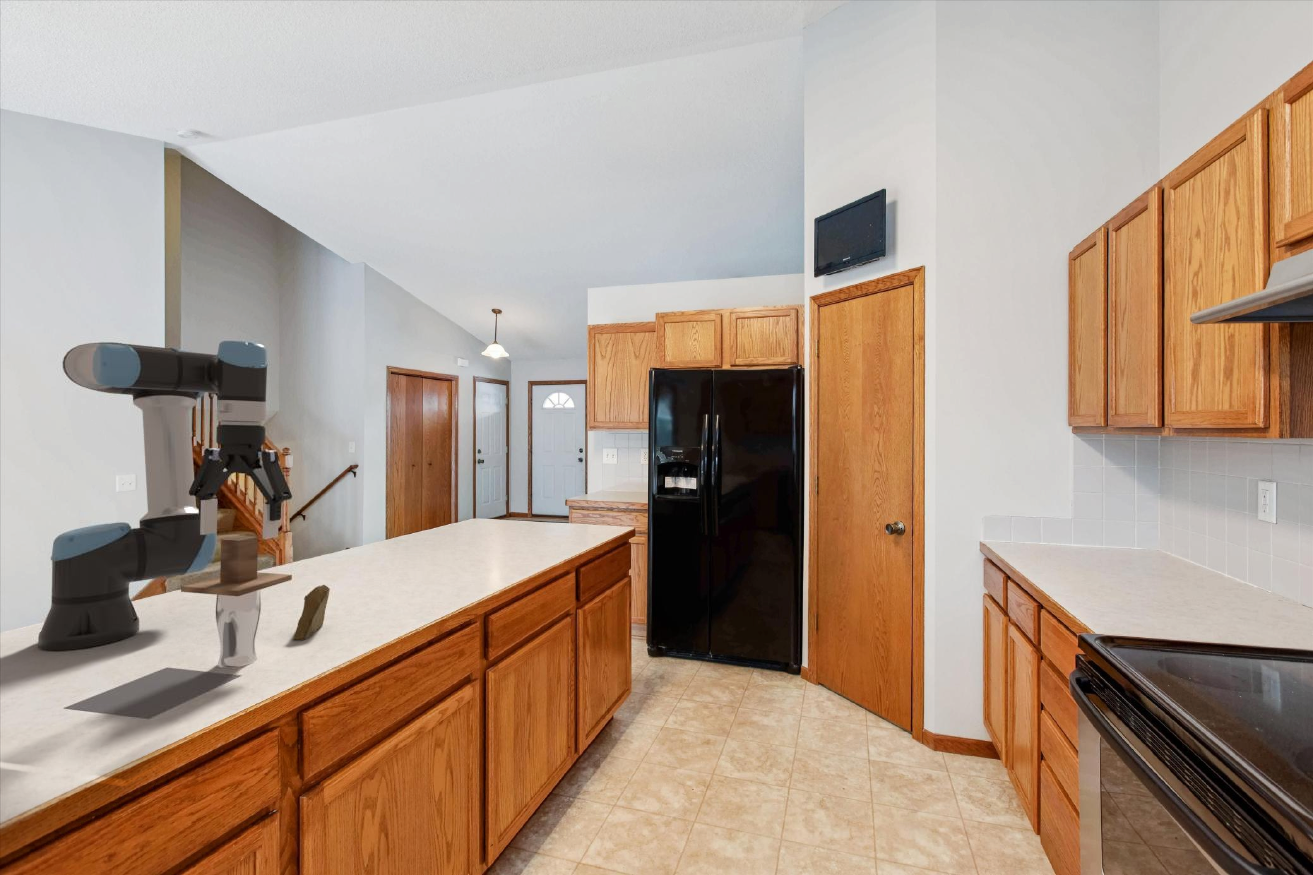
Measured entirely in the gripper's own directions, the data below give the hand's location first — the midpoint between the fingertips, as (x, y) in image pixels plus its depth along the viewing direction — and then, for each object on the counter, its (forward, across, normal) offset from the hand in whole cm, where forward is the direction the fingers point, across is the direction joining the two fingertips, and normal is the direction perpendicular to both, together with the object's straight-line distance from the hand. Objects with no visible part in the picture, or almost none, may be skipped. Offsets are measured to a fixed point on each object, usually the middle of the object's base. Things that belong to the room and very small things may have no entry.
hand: (239, 535), depth 109 cm
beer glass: (+25, 0, 0) cm, 25 cm away
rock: (+25, 0, +18) cm, 30 cm away
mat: (+24, -2, -13) cm, 28 cm away
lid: (+9, 0, 0) cm, 9 cm away
